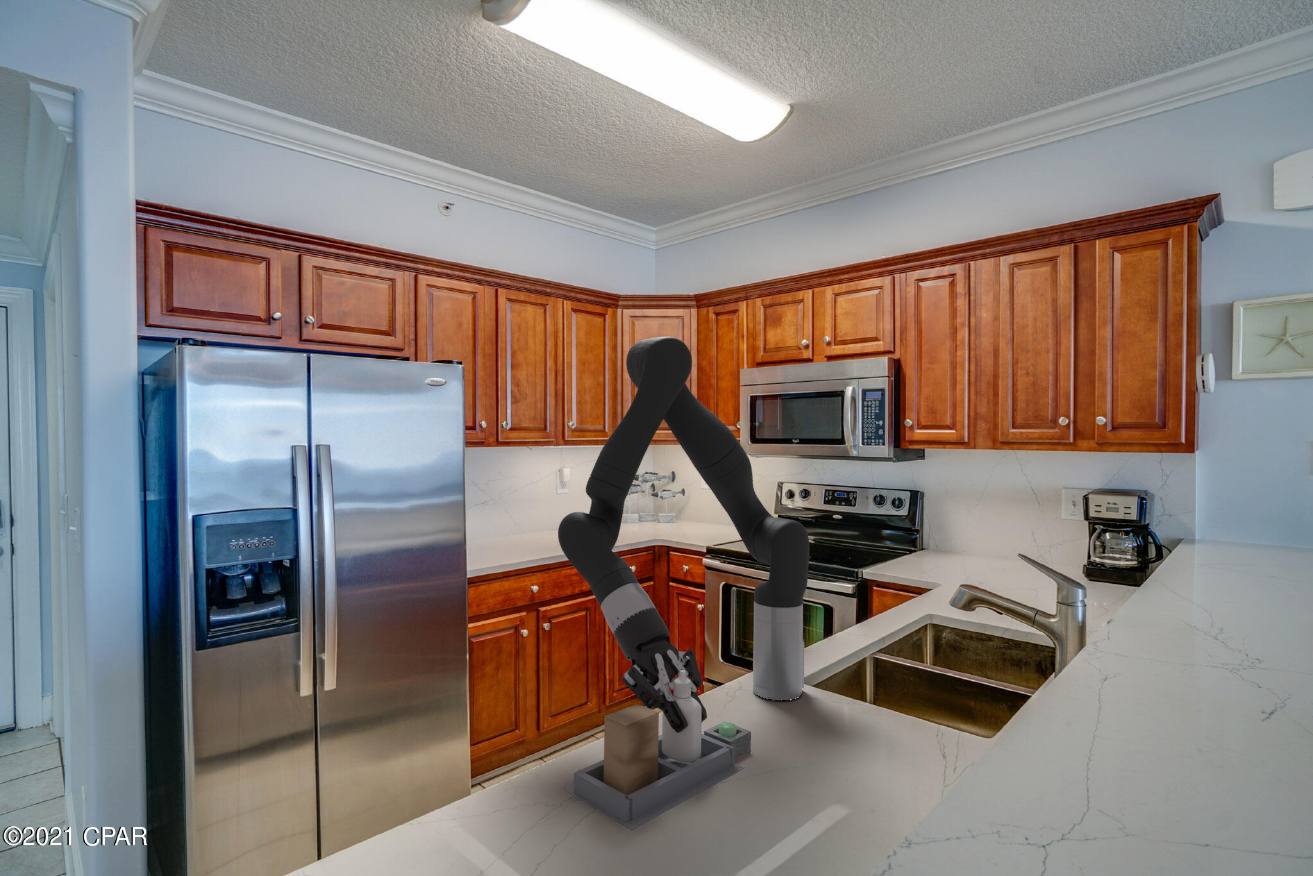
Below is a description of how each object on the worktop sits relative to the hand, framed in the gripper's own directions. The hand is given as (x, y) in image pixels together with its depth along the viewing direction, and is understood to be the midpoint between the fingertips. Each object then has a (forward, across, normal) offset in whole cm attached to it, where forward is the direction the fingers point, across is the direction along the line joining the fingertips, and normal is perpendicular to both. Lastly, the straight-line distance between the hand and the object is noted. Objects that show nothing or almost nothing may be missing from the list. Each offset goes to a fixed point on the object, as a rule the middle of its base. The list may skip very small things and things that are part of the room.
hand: (692, 724), depth 93 cm
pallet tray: (+4, -5, +7) cm, 9 cm away
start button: (+4, +9, +5) cm, 11 cm away
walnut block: (+3, -10, +6) cm, 12 cm away
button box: (+5, +9, +6) cm, 12 cm away
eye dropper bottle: (+2, 0, +5) cm, 6 cm away
